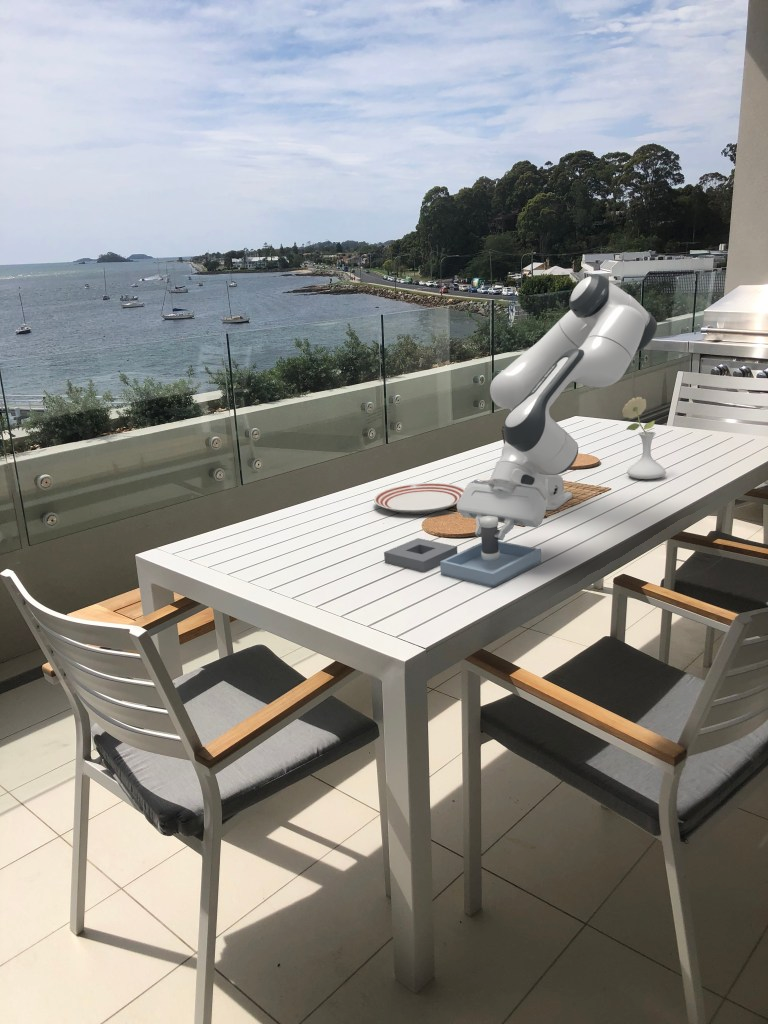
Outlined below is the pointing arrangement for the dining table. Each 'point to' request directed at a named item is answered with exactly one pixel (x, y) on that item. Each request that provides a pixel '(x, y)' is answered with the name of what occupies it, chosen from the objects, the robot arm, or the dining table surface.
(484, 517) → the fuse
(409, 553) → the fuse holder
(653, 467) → the flower in vase
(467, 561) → the parts tray
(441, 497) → the dinner plate
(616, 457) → the dining table surface
